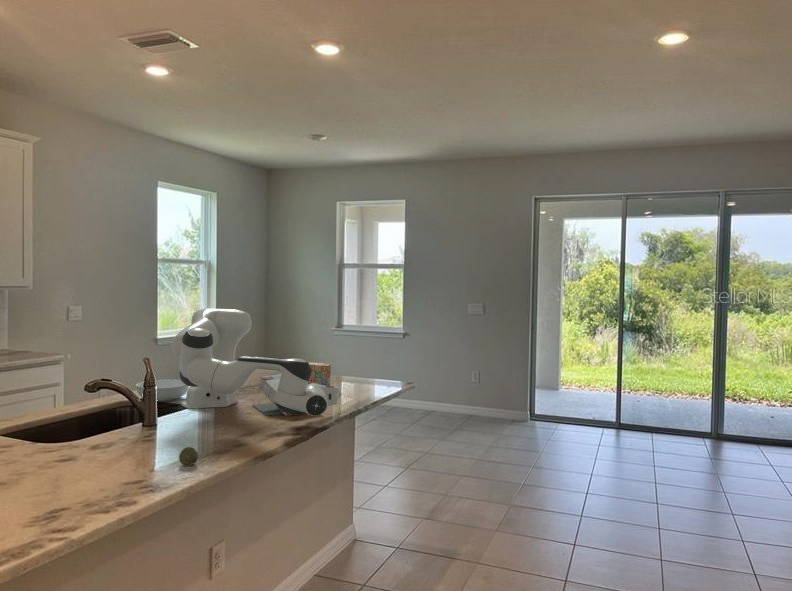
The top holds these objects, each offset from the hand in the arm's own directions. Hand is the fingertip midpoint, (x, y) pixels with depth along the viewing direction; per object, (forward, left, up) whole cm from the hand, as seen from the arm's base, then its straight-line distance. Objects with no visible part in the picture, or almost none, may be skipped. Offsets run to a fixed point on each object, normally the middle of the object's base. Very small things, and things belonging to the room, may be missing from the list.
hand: (311, 388), depth 225 cm
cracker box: (-2, +4, -8) cm, 9 cm away
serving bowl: (-45, +52, -11) cm, 70 cm away
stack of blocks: (+19, +51, -11) cm, 55 cm away
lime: (-53, -38, -11) cm, 66 cm away
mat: (-5, +16, -11) cm, 20 cm away
